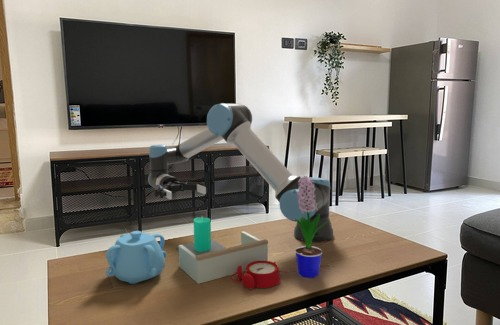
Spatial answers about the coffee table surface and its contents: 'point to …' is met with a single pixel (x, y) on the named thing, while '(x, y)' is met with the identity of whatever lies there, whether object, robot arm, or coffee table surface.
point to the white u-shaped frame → (223, 259)
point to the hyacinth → (308, 231)
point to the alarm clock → (259, 275)
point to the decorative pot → (136, 257)
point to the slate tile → (214, 247)
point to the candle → (202, 234)
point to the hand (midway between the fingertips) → (188, 193)
